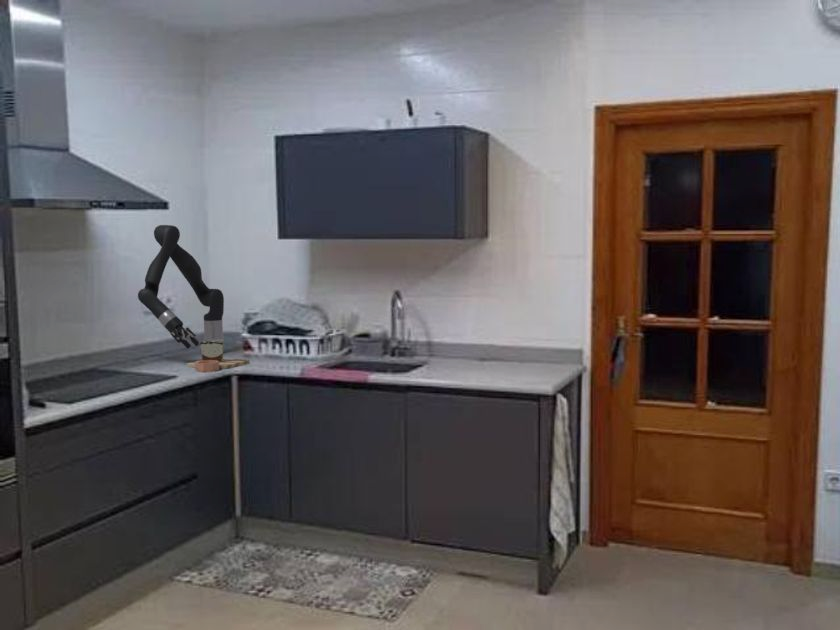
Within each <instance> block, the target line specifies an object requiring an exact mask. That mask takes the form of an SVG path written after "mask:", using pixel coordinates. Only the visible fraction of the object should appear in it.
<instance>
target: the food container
mask: <svg viewBox="0 0 840 630" xmlns="http://www.w3.org/2000/svg"><path fill="white" fill-rule="evenodd" d="M198 342H199V345H198V346H199V347H200V354H201V360H202V361H205V360H217V361H219V362H223V359H224V352H223V350H224V351H225V346H226V342H225V339H224V340H217V339H215V340H205V339H204V340H199V341H198Z"/></svg>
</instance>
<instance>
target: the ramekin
mask: <svg viewBox="0 0 840 630" xmlns="http://www.w3.org/2000/svg"><path fill="white" fill-rule="evenodd" d="M197 361H198V362H195V361H194V362H195V367H194V370H195V372H196V371H198V372H197V373H212V372H213V371H214V372H218V371H219V361H217V360H205V361H200V360H197ZM214 372H213V373H214Z"/></svg>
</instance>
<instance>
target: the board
mask: <svg viewBox="0 0 840 630" xmlns="http://www.w3.org/2000/svg"><path fill="white" fill-rule="evenodd" d="M198 361H202V359H200V360H196V361H191V362H188V363H186V367H187V366H191V367H190V368H195V362H198ZM247 363H248V364H250V359H244V358H234V359H233V358H223V362H219V368H221V370H222V369H224V370H227V369H232V368H235V366H236V367H240V366H244V365H248V364H247ZM243 364H244V365H243ZM239 365H240V366H239Z"/></svg>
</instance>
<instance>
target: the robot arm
mask: <svg viewBox="0 0 840 630" xmlns="http://www.w3.org/2000/svg"><path fill="white" fill-rule="evenodd" d="M153 237H154V240H155V241H156V243H158V244H159V246H160V247H161V248H160V249H159V252H158V253H157V255H156V256H155V257H154V259H153V260H152V261H151V263H150V264H149V267H148V268H147V272H146V275H145V277H144V283H145V286H144V287H143V288H142V289H140V290H139V291H138V292H137V299H138V301H139V302H140V303H141V304H143V306H145V308H147V309H148V310H149V312H151V313H152V315H153V316H154V317H155V319H157V320H158V321H159V322H160V324H161V325H162V326H163V327H164V328H165V329H166V331H167V332H169V334H170V335H171V337H172V338H173V339H174V340H175V341H176V342H177V343H181V344H182V345H183V346H184V347H185V348H186V349H190V348H191V347H192V345H191V343H192V344H193V345H194V346H195V347H198V346H200V345H199V342H200V341H198V339H197V338H196V336H197V335H196V333H194V331H192V330H191V328H189V327H188V326H186V328H185V327H183V326H184V322H183V321H182V320H181V319H180V318H179V317H178V316H177V314H176V313H174V312H173V311H172V310H171V309H170V308H168V306H167V305H166V304H165V303H164V302H162V301H161V300H160V299H159V298H158V295H159V290H160V289H159V288H160V284H161V282H162V281H161V280H162V277H163V275H164V272H165V269H166V266H167V264H168V262H169V259H171V260H172V262H173V264H175V266H176V267H177V269H178V271H179V272H180V273H181V275H182V276H183V277H184V278H185V279H186V280H185V281H187V283H188V284H189V286H190V287H191V288H192V290H193V291H194V293H195V295H196V297H197V299H198V301H199V302H200V304H201V305H203V306H204V307H209V311H208V312H207V313H205V314H203V331H204V332H203V333H204V335H203V339H204V340H215V339H217V340H224V341H225V334H224V332H223V331H224V330H223V329H224V328H223V316H224V311H225V310H224V309H225V308H224V306H225V305H224V303H225V298H224V293H223V291H222V290H221V289H218V288H209V287H208V286H207V285H206V283H205V282H204V280H203V278H202V268H201V266H200V265H199V263H198V261H197V260H196V259H195V257H194V256H193V255H191V254H190V253H189V252H188V251H187V250H185V249H184V248H183V247H182V246H180V245H179V243H178V242H179V240H180V237H181V233H180V229H179V228H178V227H177V226H175V225H171V224H169V225H168V224H160V225H157V226H156V227H154V230H153ZM188 340H189V341H190V342H191V343H190V342H189V341H188ZM223 353H225V349H224V350H223Z"/></svg>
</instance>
